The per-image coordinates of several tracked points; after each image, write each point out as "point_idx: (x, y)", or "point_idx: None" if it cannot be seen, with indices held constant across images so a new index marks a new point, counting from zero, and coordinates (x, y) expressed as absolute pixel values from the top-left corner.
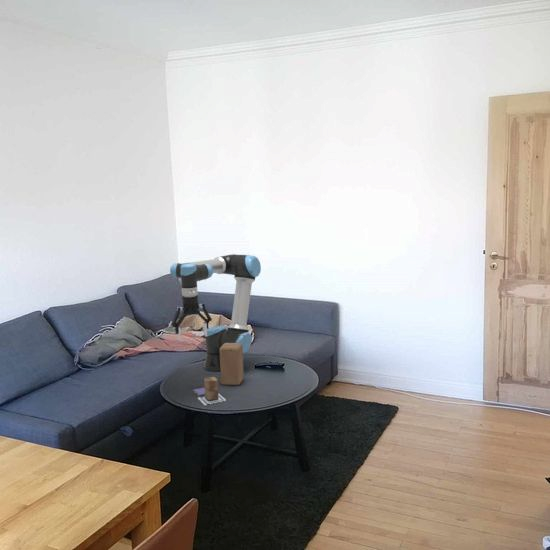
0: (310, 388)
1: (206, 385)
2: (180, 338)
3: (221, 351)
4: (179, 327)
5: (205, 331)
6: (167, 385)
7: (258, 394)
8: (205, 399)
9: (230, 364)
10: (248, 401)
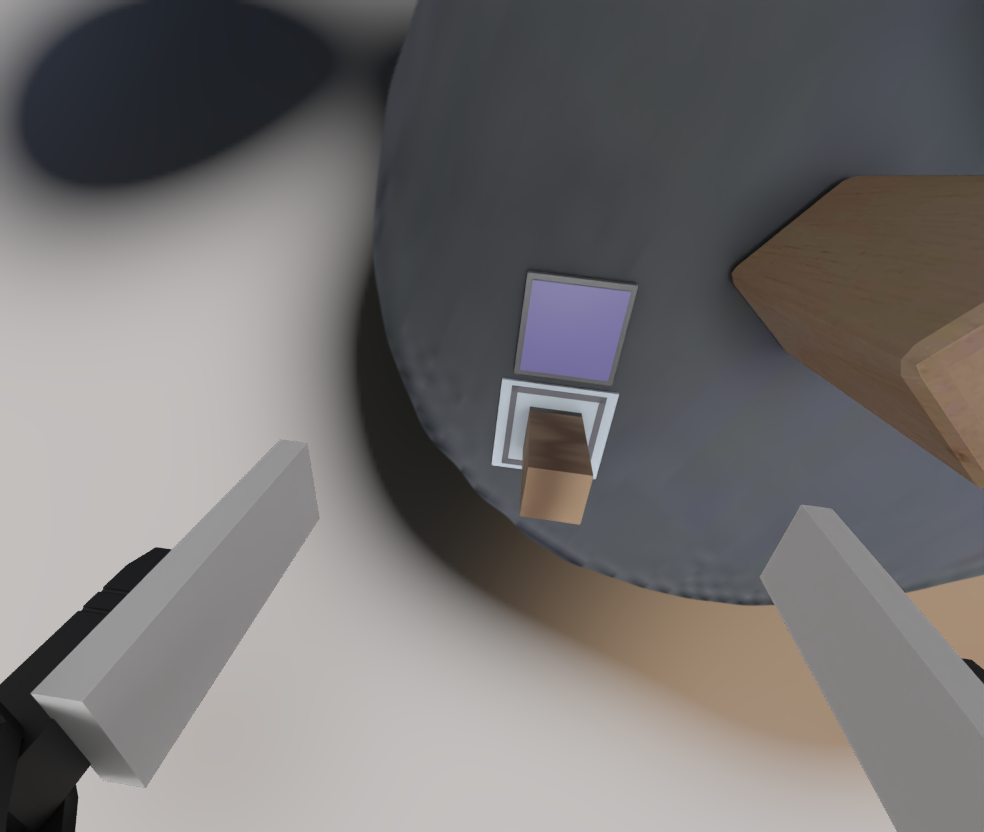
0: (970, 575)
1: (523, 478)
2: (296, 540)
3: (889, 371)
4: (125, 783)
5: (806, 651)
6: (431, 12)
7: (755, 500)
8: (524, 418)
9: (843, 376)
10: (663, 529)
